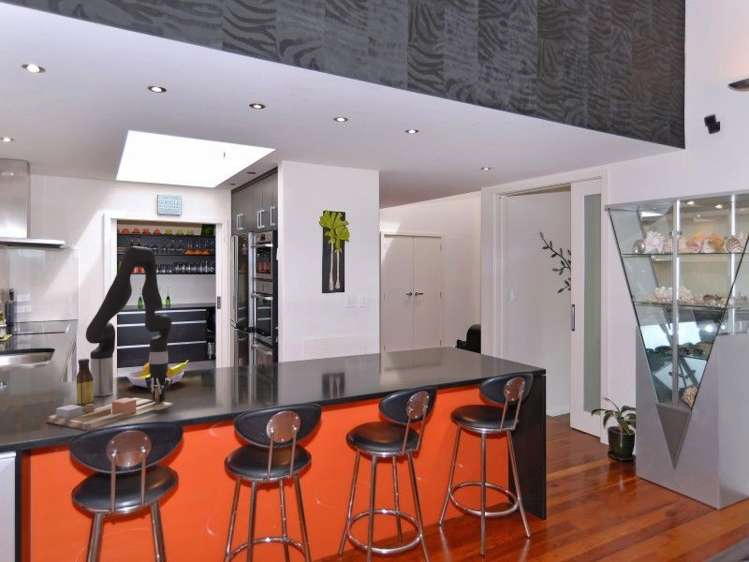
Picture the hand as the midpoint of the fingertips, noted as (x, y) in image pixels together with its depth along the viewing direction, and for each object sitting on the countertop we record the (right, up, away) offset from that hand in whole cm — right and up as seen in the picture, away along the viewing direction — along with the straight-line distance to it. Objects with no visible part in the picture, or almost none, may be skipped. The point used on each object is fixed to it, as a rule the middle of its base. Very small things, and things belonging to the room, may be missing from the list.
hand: (158, 401), depth 223 cm
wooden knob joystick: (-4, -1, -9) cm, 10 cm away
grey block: (-21, -1, -23) cm, 31 cm away
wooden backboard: (-12, -2, -14) cm, 19 cm away
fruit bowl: (-15, -1, +37) cm, 40 cm away
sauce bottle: (-30, -2, -2) cm, 31 cm away
